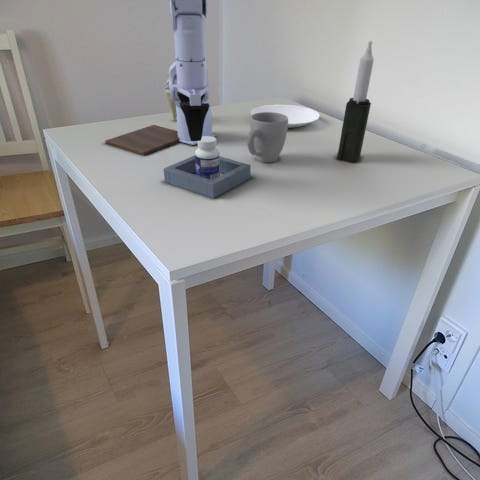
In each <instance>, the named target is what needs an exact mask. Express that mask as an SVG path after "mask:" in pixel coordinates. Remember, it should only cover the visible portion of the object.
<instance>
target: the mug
mask: <svg viewBox="0 0 480 480" xmlns="http://www.w3.org/2000/svg"><path fill="white" fill-rule="evenodd" d="M288 129H289V128H288V117H287V116H285V115H283V114H280V113H273V112H262V113H256V114H254V115H251V117H250V130H249V132H248V135H247V142H246V143H247V149H248V152H249V154H250V155H252V156H255V158H256V160H257V161H258V162H261V163H275V162H277V161H278V159H279V157H280V155H281V153H282V150H283V149H284V146H285V143H286V139H287V134H288Z"/></svg>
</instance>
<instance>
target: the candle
mask: <svg viewBox="0 0 480 480" xmlns="http://www.w3.org/2000/svg"><path fill="white" fill-rule="evenodd" d="M367 43H368V44H367V47H366V48H365V51H364V54H363V55H362V56H361V57H360V58H359V64H358V70H357V75H356V81H355V86H354V92H353V97H349V100H348V101H347V102H346V104H345V110H344V117H343V121H342V127H341V134H340V140H339V145H338V151H337V157H336V159H337V160H338V161H345V162H350V163H357V162H358V161H359V159H360V158H361V155H362V148H363V145H364V139H365V134H366V131H367V130H366V129H367V125H368V120H369V114H370V110H371V105H372V103H371V102H370V99H368V98H367V97H368V92H369V87H370V82H371V77H372V70H373V67H374V61H375V58H374V55H373V50H372V44H373V41H372V40H369V41H368V42H367Z"/></svg>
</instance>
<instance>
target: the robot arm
mask: <svg viewBox="0 0 480 480" xmlns="http://www.w3.org/2000/svg"><path fill="white" fill-rule="evenodd" d="M169 12H170V16H171V22H172V23H171V24H172V31H174V33H173V40H174V41H173V42H174V56H175V61H174V62H173V63H171V64H172V65H171V64H170V66H169V68H168V73H169V89H170V100H171V101H172V102H175V105H176V115H177V117H176V126H177V127H176V128H177V131H178V137H179V138H180V140H179V142H178V143H184V144H187V145H190V146H195V145H198V141H201V138H202V136H212V137H215V138H216V135H215V134H214V133H213V112H212V107H211V106H210V103H208V101H209V100H210V85H209V76H208V75H209V73H208V69H207V50H206V49H207V48H206V20H205V19H207V17H208V0H169ZM203 17H204V18H203ZM173 78H174V81H173ZM174 93H175V96H174ZM174 98H175V100H174Z"/></svg>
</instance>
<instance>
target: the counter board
mask: <svg viewBox="0 0 480 480" xmlns="http://www.w3.org/2000/svg"><path fill="white" fill-rule="evenodd" d="M179 140H180V138H179V137H178V130H176V129H171V128H168V127H163V126H160V125H157V124H156V125H155V124H152V125H149V126H148V125H147V126H146V127H143V128H140V129H137V130H134V131H130V132H127V133H124V134H121V135H117V136H115V137H111V138H109V139H106V140H104V141H105V144H106V145H109V146H112V147H116V148H119V149H122V150H124V151H128V152H131V153H135V154H137V155H141V156H146V155H149V154H150V153H151V154H152V153H154V152H158V151H159V150H162V149H165V148H168V147H170V146H172V145H173V146H174V145H175V144H178V143H180V142H179Z"/></svg>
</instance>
